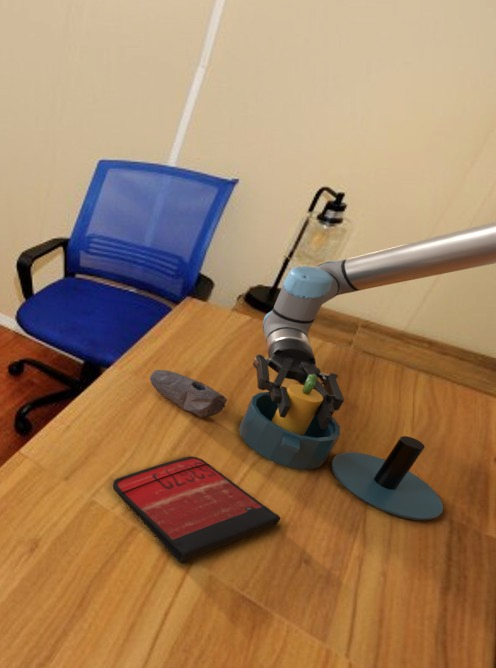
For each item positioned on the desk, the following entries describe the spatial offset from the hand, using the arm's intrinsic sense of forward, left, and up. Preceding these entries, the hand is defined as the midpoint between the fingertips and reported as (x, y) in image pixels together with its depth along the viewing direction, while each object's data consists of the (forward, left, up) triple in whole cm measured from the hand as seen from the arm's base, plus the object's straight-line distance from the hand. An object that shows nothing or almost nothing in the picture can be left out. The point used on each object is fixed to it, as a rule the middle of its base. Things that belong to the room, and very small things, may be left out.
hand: (305, 417), depth 92 cm
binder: (+13, +23, -11) cm, 28 cm away
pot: (+1, -5, -11) cm, 12 cm away
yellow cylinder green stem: (+1, -5, -7) cm, 9 cm away
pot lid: (-14, -3, -10) cm, 18 cm away
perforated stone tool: (+19, -6, -11) cm, 23 cm away
